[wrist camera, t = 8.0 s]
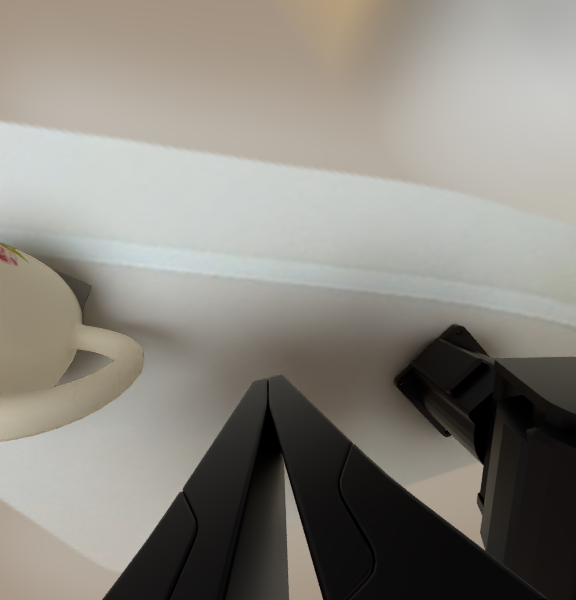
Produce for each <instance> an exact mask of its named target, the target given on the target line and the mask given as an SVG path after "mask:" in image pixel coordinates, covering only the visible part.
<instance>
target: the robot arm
mask: <svg viewBox="0 0 576 600" xmlns="http://www.w3.org/2000/svg"><path fill="white" fill-rule="evenodd" d="M457 330H459V333H458V334H456V332H457ZM401 381H404V382H403V384H401V385H400V382H401ZM394 384H395V386H396V387H397V388H398V389H399V390H400V391H401V392H402V393H403V394H404V395H405V396H406V397H407V398H408V399H409V400H410V402H411V403H412V404H413V405H414V406H415V407H416V408H417V409H418V410H419V411H420V412H421V413H422V414H423V415H424V416H425V417H426V418H427V419H428V420H429V421H430V422H431V423H432V424H433V425H434V427H435V428H436V429H437V430H438V431H439V432H440V433H441V434H442V435H443V436H445V437H449V436H451V435H453V436H454V437H455V438H456V439H457V440H458V441H459V442H460V443H461V444H462V445H463V446H464V447H465V448H466V449H467V450H468V451H469V452H470V453H471V454H472V455H473V456H474V457H475V458H476V459H477V460H478V461H479V462H481V463H482V464H483V465H484V468H483V476H482V483H481V491H480V493H478V496H477V504H478V507H479V509H480V511H481V513H482V523H481V531H480V533H481V537H482V540H483V544H484V547H485V550H484V549H482V548H481V547H480V546H478V545H477V544H476V543H475V542H473V541H472V540H471V539H469V538H468V537H466V536H465V535H464V534H463V533H462V532H460V531H459V530H458V529H456V528H455V527H454V526H452V525H451V524H450V523H448V522H447V521H446V520H445V519H443V518H442V517H440V516H439V515H438V514H437V513H435V512H434V511H433V510H431V509H430V508H429V507H428V506H426V505H425V504H424V503H422V502H421V501H420V500H418V499H417V498H416V497H415V496H413V495H412V494H411V493H410V492H408V491H407V490H406V489H405V488H403V487H402V486H401V485H400V484H398V483H397V482H396V481H395V480H393V479H392V478H391V477H390V476H389V475H387V474H386V473H385V472H384V471H383V470H382V469H381V468H380V467H378V466H377V465H376V464H375V463H374V462H373V461H372V460H371V459H370V458H369V457H367V456H366V455H365V454H364V453H363V452H362V451H361V450H360V449H359V448H358V447H357V446H356V445H355V444H353V443H352V442H351V441H350V440H349V439H348V438H347V437H346V436H345V435H344V434H343V433H342V432H341V431H340V430H339V429H338V428H337V427H336V426H335V425H334V424H333V423H332V422H331V421H330V420H328V419H327V418H326V417H325V416H324V415H323V414H322V413H321V412H320V411H319V410H318V409H317V408H316V407H315V406H314V405H313V404H312V403H311V402H310V401H309V400H308V399H307V398H306V397H305V396H304V395H303V394H302V393H301V392H300V391H298V390H297V389H296V388H295V387H294V386H293V385H292V384H291V383H290V382H289V381H288V380H287V379H286V378H285V377H284V376H283V375H276V376H273V377H270V378H269V379H266V378H265V379H261V380H257V381H254V382H253V383H252V385H251V386H250V388H249V389H248V391H247V392H246V394H245V395H244V397H243V398H242V400H241V401H240V403H239V404H238V406H237V407H236V409H235V410H234V412H233V413H232V415H231V416H230V418H229V419H228V421H227V423H226V424H225V426H224V427H223V429H222V430H221V432H220V433H219V435H218V436H217V438H216V439H215V441H214V442H213V444H212V445H211V447H210V448H209V450H208V451H207V453H206V454H205V456H204V457H203V459H202V460H201V462H200V463H199V465H198V466H197V468H196V469H195V471H194V472H193V474H192V475H191V477H190V478H189V480H188V481H187V483H186V484H185V486H184V487H183V492H180V493H179V494H178V495H177V497H176V498H175V500H174V501H173V503H172V504H171V506H170V507H169V509H168V510H167V512H166V513H165V515H164V516H163V518H162V519H161V520H160V522H159V523H158V525H157V526H156V528H155V529H154V530H153V532H152V533H151V535H150V536H149V538H148V539H147V541H146V542H145V543H144V545H143V546H142V547H141V549H140V550H139V551H138V553H137V554H136V555H135V557H134V558H133V559H132V561H131V562H130V564H129V565H128V566H127V568H126V569H125V570H124V572H123V573H122V574H121V576H120V577H119V578H118V580H117V581H116V582H115V584H114V585H113V586H112V588H111V589H110V590H109V591H108V593H107V594H106V595H105V597H104V598H103V599H102V600H289V586H288V560H287V534H286V506H285V479H284V462H285V466H286V470H287V473H288V477H289V480H290V484H291V487H292V491H293V494H294V498H295V501H296V505H297V509H298V512H299V516H300V519H301V523H302V526H303V530H304V533H305V537H306V540H307V544H308V547H309V551H310V555H311V558H312V561H313V565H314V568H315V572H316V575H317V579H318V583H319V586H320V590H321V593H322V597H323V600H576V357H543V358H498V359H493V358H490V357H489V355H488V354H487V353H486V352H485V351H484V350H483V348H482V347H481V346H480V345H479V344H478V343H477V341H476V340H475V339H474V338H473V337H472V336H471V334H470V333H469V332H468V331H467V330H466V329H465V328H464V327H463V326H460V325H453V326H452V327H451V328H450V329H449V330H447V331H446V332H445V333H444V334H443V335H442V336H441V337H440V338H439V339H437V340H435V341H434V342H433V343H432V344H431V345H430V346H429V347H428V348H427V349H425V350H424V351H423V352H422V353H421V354H420V355H419V356H418V357H417V358H416V359H415V360H413V362H412V363H411V364H410V365H409V366H408V367H407V368H406V369H405V370H403V371H402V372H401V373H400V374H399V375H398V376H397V377H396V378H395V380H394ZM445 429H446V430H445Z"/></svg>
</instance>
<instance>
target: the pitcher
mask: <svg viewBox="0 0 576 600" xmlns="http://www.w3.org/2000/svg"><path fill="white" fill-rule="evenodd" d="M77 349H78V350H86V351H91V352H95V353H99V354H102V355H104V356H107V357H109V358H110V359H112V360H113V362H111V363H110V364H108V365H107V366H105V367H104V368H102V369H100V370H98V371H96V372H94V373H92V374H90V375H88V376H85V377H83V378H80V379H77V380H75V381H72V382H69V383H66V384H62V385H59V386H55V385H56V383H57V382H58V381H59V380H60V378H61V377H62V376H63V375H64V373H65V372H66V370H67V369H68V367H69V366H70V364H71V362H72V361H73V359H74V357H75V354H76V352H77ZM143 363H144V353H143V349H142V348H141V347H140V346H139V344H138V343H137V342H136V341H135V340H133V339H132V338H130V337H128V336H126V335H124V334H121V333H119V332H115V331H111V330H107V329H102V328H97V327H92V326H85V325H83V324H82V312H81V307H80V304H79V302H78V300H77V297H76V296H75V294H74V293H73V291H72V290H71V289H70V287H69V286H68V285H67V284H66V282H65V281H64V280H63V279H62V278H61V277H60V276H59V275H58V274H57V273H56V272H55V271H53V270H52V269H51V268H49V267H48V266H46V265H45V264H43V263H42V262H40V261H39V260H37V259H35V258H34V257H32V256H30V255H28V254H26V253H23V252H21V251H19V250H17V249H15V248H12V247H10V246H8V245H5V244H3V243H0V442H2V441H10V440H15V439H19V438H24V437H29V436H34V435H37V434H40V433H44V432H47V431H50V430H54V429H57V428H60V427H62V426H65V425H67V424H69V423H72V422H74V421H77V420H79V419H82V418H84V417H85V416H87V415H89V414H91V413H93V412H95V411H97V410H99V409H101V408H102V407H104V406H105V405H107V404H108V403H110V402H111V401H113V400H114V399H116V398H117V397H118V396H120V395H121V394H122V393H123V392H124V391H125V390H126V389H128V388H129V387H130V386H131V384H132V383H133V382H134V381H135V380H136V378H137V377H138V376H139V375H140V373H141V371H142V368H143ZM54 386H55V387H54Z"/></svg>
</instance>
